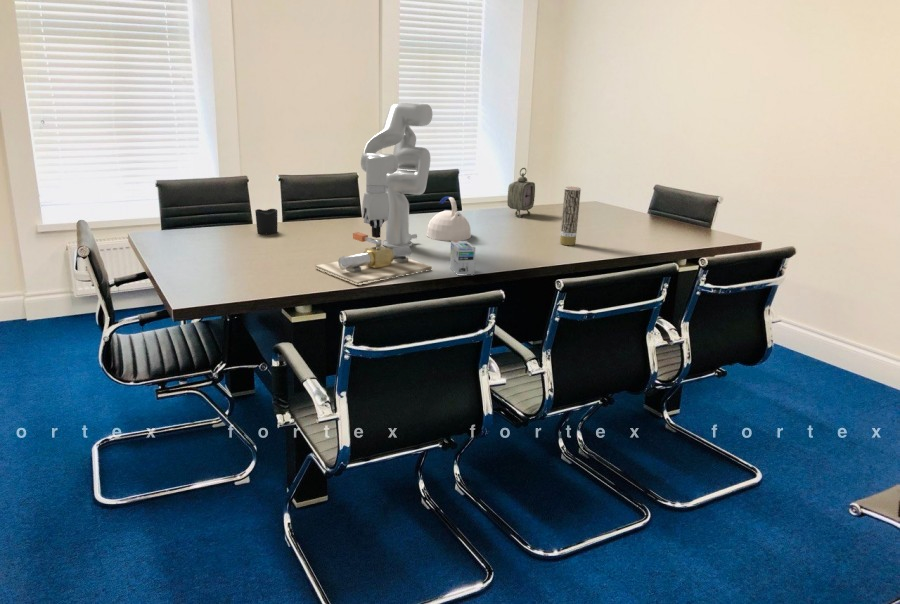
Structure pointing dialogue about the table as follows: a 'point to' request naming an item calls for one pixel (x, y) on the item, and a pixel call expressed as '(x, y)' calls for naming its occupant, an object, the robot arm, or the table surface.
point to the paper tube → (570, 215)
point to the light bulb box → (462, 257)
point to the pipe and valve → (375, 258)
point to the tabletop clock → (521, 194)
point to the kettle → (449, 224)
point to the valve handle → (365, 238)
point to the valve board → (375, 271)
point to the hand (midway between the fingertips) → (376, 236)
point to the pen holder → (266, 221)
